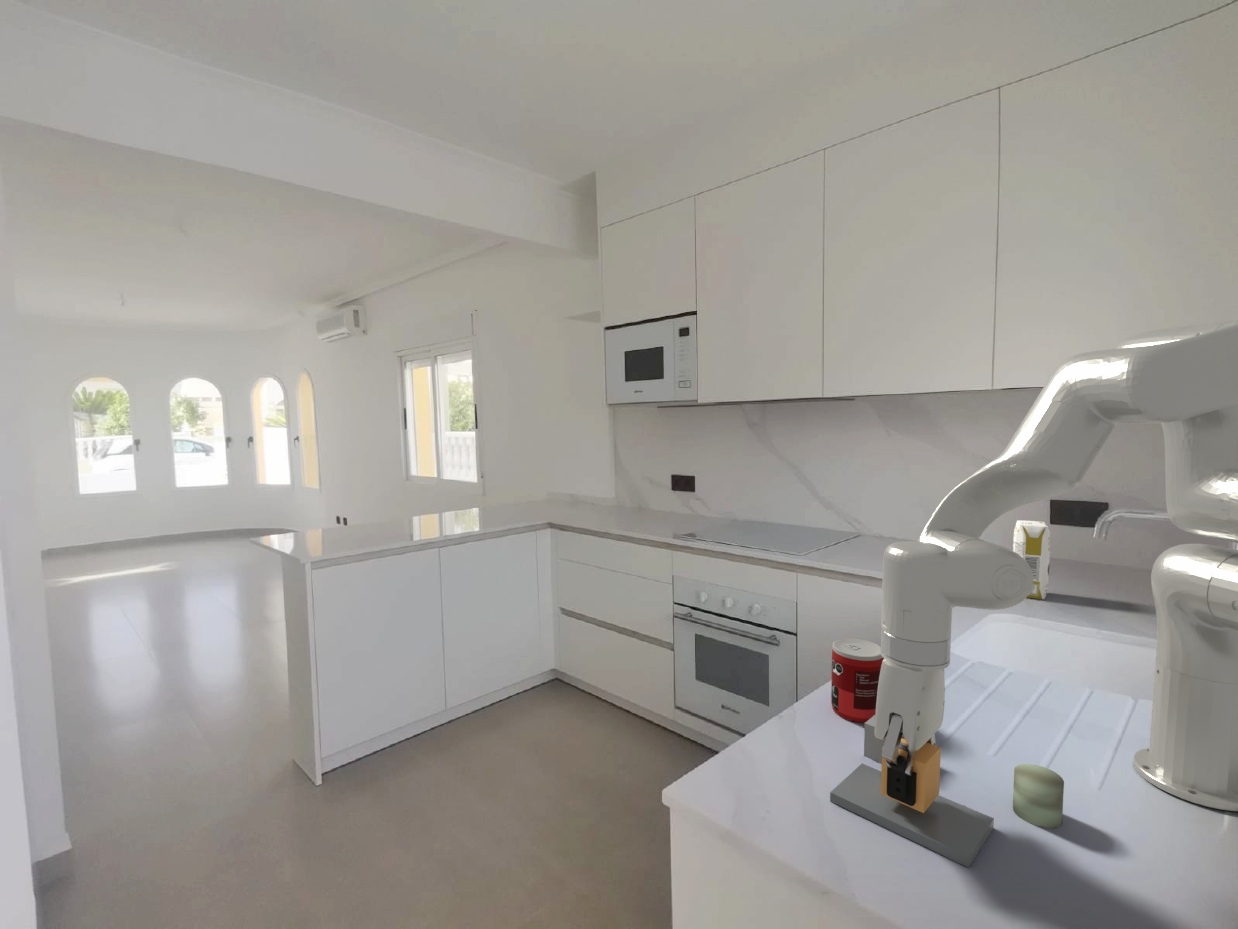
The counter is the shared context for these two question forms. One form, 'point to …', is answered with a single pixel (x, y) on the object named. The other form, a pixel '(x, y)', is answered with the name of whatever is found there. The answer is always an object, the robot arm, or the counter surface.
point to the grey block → (872, 742)
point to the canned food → (855, 678)
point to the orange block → (920, 775)
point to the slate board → (916, 817)
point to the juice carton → (1034, 553)
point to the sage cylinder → (1038, 795)
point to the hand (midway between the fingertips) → (910, 788)
